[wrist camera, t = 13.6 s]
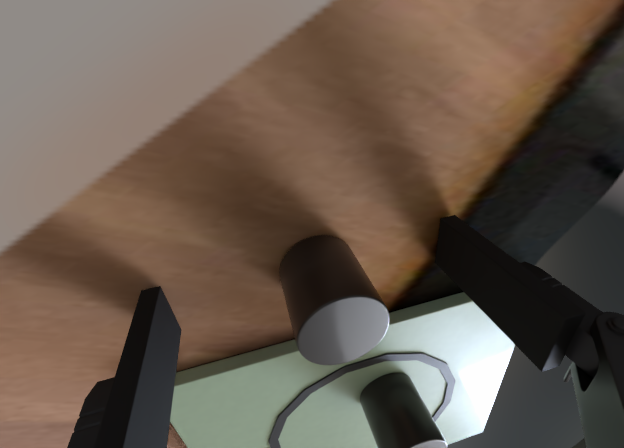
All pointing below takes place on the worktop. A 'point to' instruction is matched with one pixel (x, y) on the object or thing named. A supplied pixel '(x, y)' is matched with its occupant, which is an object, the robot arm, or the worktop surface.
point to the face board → (347, 384)
